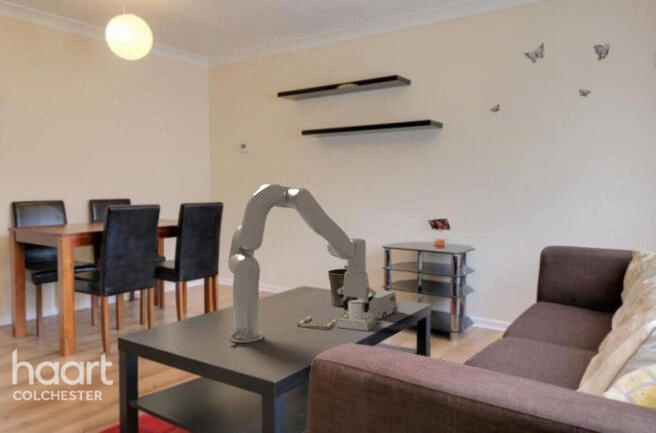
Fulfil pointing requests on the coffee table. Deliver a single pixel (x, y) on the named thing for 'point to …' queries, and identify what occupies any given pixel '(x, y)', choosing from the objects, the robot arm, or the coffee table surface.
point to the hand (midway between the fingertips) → (356, 310)
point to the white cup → (356, 309)
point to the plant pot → (337, 286)
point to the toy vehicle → (382, 304)
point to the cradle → (301, 324)
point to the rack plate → (356, 321)
